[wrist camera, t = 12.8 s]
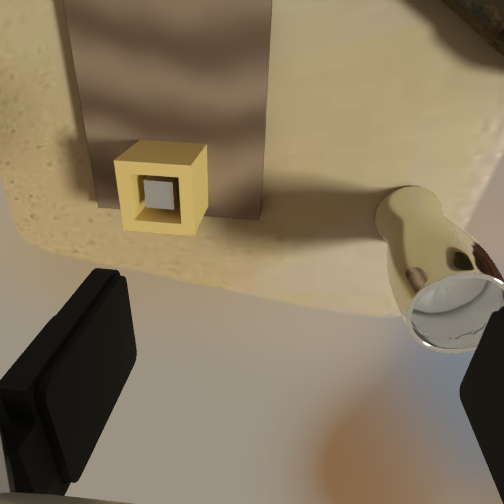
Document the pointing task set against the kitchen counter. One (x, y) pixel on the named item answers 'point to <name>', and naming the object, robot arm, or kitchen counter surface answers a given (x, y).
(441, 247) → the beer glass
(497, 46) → the hand tool
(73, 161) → the kitchen counter surface
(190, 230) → the collar
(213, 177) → the post board
